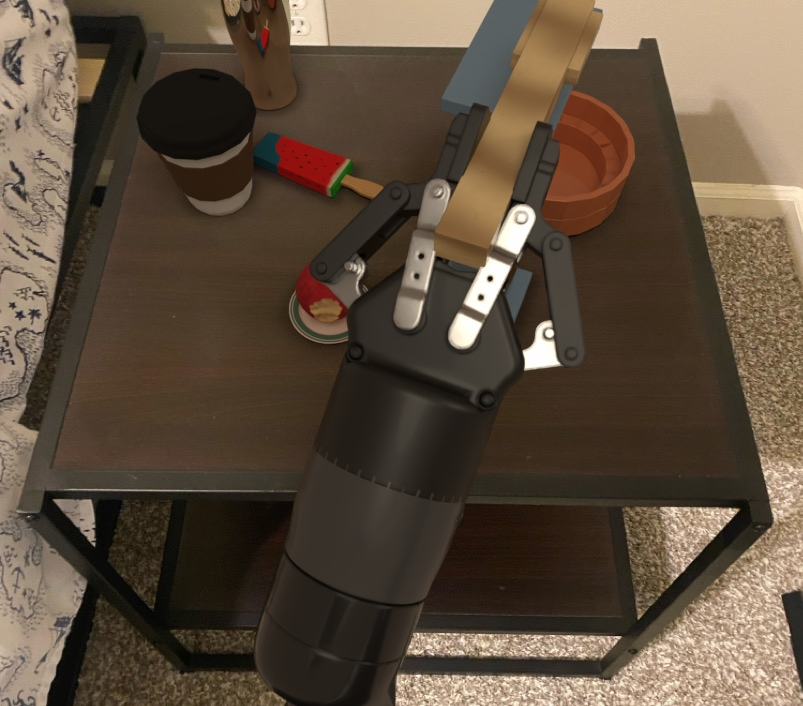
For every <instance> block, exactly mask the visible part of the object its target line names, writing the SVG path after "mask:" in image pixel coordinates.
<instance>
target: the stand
mask: <svg viewBox="0 0 803 706" xmlns="http://www.w3.org/2000/svg"><path fill="white" fill-rule="evenodd" d="M537 2H538V0H493V1H492V3H491V4H490V6H489V8H488V10H487V12H486V14H485V16H484V18H483V19H482V21H481V23H480V25H479V27H478V29H477V30H476V32H475V34H474V36H473V38H472V40H471V42H470V44H469V45H468V48H467V49H466V51H465V53H464V54H463V57H462V59H461V61H460V62H459V64H458V66H457V68H456V69H455V71H454V73H453V75H452V77H451V79H450V80H449V82H448V84H447V86H446V88H445V90H444V92H443V93H442V96H441V97H440V106H439V107H440V109H439V110H440V111H441V112H444V113H448V114H451V115H454V116H457V115H458V114H459V113H460V112H461V113H465V114H468V115H469V112H470V109H471V107H472V105H473V103H474V102H475V103H478V104H482V105H485V106H489V109H490V116H491V115H492V113H493V111H494V109H495V107H496V105H497V103H498V101H499V98H500V96H501V94H502V92H503V90H504V88H505V86H506V84H507V82H508V80H509V78H510V76H511V74H512V72H513V70H514V69H511V68H510V64H511V58H512V53H513V51H514V49H515V47H516V45H517V43H518V41H519V39H520V37H521V35H522V33H523V31H524V29H525V27H526V25H527V23H528V21H529V19H530V17H531V14H532V12H533V10H534V8H535V6H536V4H537ZM593 11H596V12H600V13H603V12H604V10H603V9H602V8H598V7H594V9H593ZM573 88H574V85H571V84H567V83H565V84H564V86H563V88H562V91H561V93H560V95H559V98H558V100H557V102H556V105H555V107H554V109H553V112H552V114H551V116H550V119H549V121H548V124H552V125H553V129H552V137H553V135H554V133H555V130H556V128H557V125H558V123H559V120H560V118H561V115H562V113H563V111H564V108H565V106H566V103H567V101H568V98H569V96H570V94H571V91H572V90H573ZM552 137H551V139H552ZM447 265H449V266H450V267H452V268H453V269H455V270H457V271H472V272H478V271H479V269H476V268H473V267H470V266H466V265H463V264H460V263H457V262H454V261H451V260H448V263H447ZM532 278H533V272H532V271H529V270H527V269H523V268H521V267H518V268H517V270H516V273H515V275H514V277H513V279H512V281H511V283H510V285H509V287H508V289H507V291H506V293H505V295H506V298H507V301H508V304H509V307H510V311H511V314H512V317H513V321H514V324H516V321H517V317H518V315H519V313H520V310H521V308H522V304H523V302H524V299H525V297H526V294H527V291H528V289H529V286H530V284H531V281H532Z"/></svg>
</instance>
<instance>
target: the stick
mask: <svg viewBox="0 0 803 706" xmlns="http://www.w3.org/2000/svg"><path fill="white" fill-rule="evenodd" d="M595 5H596V0H538V2H537V4H536V6H535V8H534V10H533V12H532V14H531V17H530V19H529V21H528V23H527V25H526V27H525V29H524V31H523V33H522V35H521V37H520V39H519V41H518V43H517V45H516V47H515V49H514V51H513V53H512V58H511V64H510V68H511V69H514V70H513V72H512V74H511V76H510V78H509V80H508V82H507V84H506V86H505V88H504V90H503V92H502V94H501V96H500V98H499V101H498V103H497V105H496V107H495V109H494V111H493V113H492V115H491V120H490V122H489V124H488V126H487V128H486V130H485V132H484V134H483V136H482V138H481V140H480V142H479V144H478V146H477V149H476V151H475V153H474V155H473V157H472V159H471V161H470V163H469V165H468V167H467V169H466V171H465V173H464V175H463V176H462V177H461V179H460V181H459V183H458V185H457V187H456V189H455V191H454V193H453V195H452V197H451V199H450V201H449V203H448V205H447V207H446V209H445V211H444V214H443V216H442V218H441V220H440V222H439V224H438V226H437V228H436V230H435V234H434V249H433V251H435V252H436V256H439V257H442V258H445V259H446V260H448V261H449V260H451V261H454V262H457V263H460V264H463V265H466V266H470V267H473V268H476V269H480V267H485V266H486V264H487V261H488V258H489V255H490V253H491V251H492V249H493V247H494V244H495V242H496V239H497V236H498V234H499V232H500V230H501V228H502V225H503V223H504V221H505V219H506V217H507V215H508V213H509V211H510V210H511V208H512V203H511V196H512V194H513V187H514V185H515V182H516V179H517V176H518V173H519V170H520V167H521V165H522V162H523V159H524V156H525V153H526V150H527V148H528V145H529V142H530V139H531V136H532V133H533V130H534V128H535V125H536V123H537V121H541V122H545V123H548V121H549V119H550V116H551V114H552V112H553V109H554V107H555V105H556V102H557V100H558V98H559V95H560V93H561V91H562V88H563V86H564V84H565V83H567V84H571V85H574V86H577V85H578V83H579V80H580V77H581V75H582V73H583V70H584V68H585V65H586V63H587V61H588V59H589V58H588V57H589V55H590V54H591V50H592V48H593V46H594V44H595V41H596V38H597V36H598V34H599V32H600V29H601V25H602V22H603V18H604V13H603V12H602V13H600V12H596V11H593V9H594V8H595ZM574 86H573V87H574Z"/></svg>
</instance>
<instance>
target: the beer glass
mask: <svg viewBox="0 0 803 706" xmlns="http://www.w3.org/2000/svg"><path fill="white" fill-rule="evenodd" d="M219 3H220V9H221V13H222V17H223V20H224V25H225V27H226V30H227V33H228V35H229V39H230V40H231V43H232V45H233V47H234V49H235V52H236V54H237V57H238V59H239V61H240V64H241V66H242V71H243V75H244V86H245V88H246V89H247V90H248V91H250V92H251V95H252V98H253V101H254V104H255V107H256V109H259V110H264V111H275V110H280V109H283V108H285V107H287V106H289V105H290V104H292V102H294V100H295V99H296V98H297V95H298V85H297V82H296V80H295V77H294V74H293V70H292V67H291V57H290V56H291V38H292V37H291V36H292V14H291V4H290V0H219Z"/></svg>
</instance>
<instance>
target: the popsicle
mask: <svg viewBox="0 0 803 706" xmlns="http://www.w3.org/2000/svg"><path fill="white" fill-rule="evenodd" d="M253 165H256V166H257V167H261V168H263V169H265V170H268V171H270V172H272V173H275V174H276V175H279V176H282V177H283V178H285V179H288V180H290V181H292V182H295V183H297V184H299V185H302V186H304V187H306V188H309V189H311V190H313V191H315V192H318V193H320V194H322V195H325V196H327V197H329V198H335V196H336V195H337V194H339V193H338V192H339V191H340V190H341V189H342V187H346V188H348V189H351V190H353V191H354V192H355V193H357V194H358V195H359V196H362V197H365V198H368V199H370V200H372V199H373V198H374V197H375V196H376V195H377V194H378V193H379V192H380V191H381V190H382V189H383V188H384V187H385V186H383V185H381V184H379V183H376V182H373V181H371V180H368V179H362V178H361V179H360V178H357V177H354V176H352V175H351V174H352V173H353V172H354V161H353V160H352V159H350V158H347V157H345V156H344V157H343V156H341V155H339V154H335V153H333V152H330V151H327V150H324V149H321V148H319V147H315V146H312V145H311V144H306V143H304V142H300V141H298V140H295V139H292V138H289V137H286V136H283V135H280V134H278V133H275V132H271V131H269V132H267V133H266V134H265V136H264V137H263V138H262V139H261V140H260V142H259V143H258V144H257V145H256V147H255V148H253Z"/></svg>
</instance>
